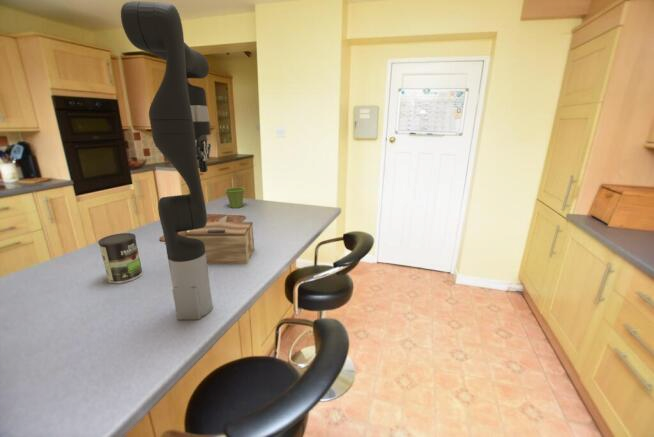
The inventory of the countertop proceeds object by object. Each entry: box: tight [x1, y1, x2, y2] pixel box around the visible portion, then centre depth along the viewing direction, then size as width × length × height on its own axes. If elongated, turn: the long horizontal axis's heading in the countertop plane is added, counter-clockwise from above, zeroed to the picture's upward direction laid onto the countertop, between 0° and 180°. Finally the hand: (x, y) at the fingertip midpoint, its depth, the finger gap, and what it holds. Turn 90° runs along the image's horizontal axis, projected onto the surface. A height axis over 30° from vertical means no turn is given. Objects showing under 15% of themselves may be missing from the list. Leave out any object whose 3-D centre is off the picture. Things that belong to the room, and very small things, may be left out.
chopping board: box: [158, 213, 247, 245], centre depth 152 cm, size 45×27×3 cm, turn 173°
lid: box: [186, 221, 253, 236], centre depth 117 cm, size 14×21×2 cm, turn 91°
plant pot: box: [224, 186, 245, 209], centre depth 188 cm, size 12×12×11 cm
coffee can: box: [97, 232, 144, 284], centre depth 102 cm, size 10×10×14 cm
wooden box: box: [187, 224, 255, 265], centre depth 118 cm, size 14×21×11 cm, turn 91°
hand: (203, 171), depth 107 cm, fingers closed
